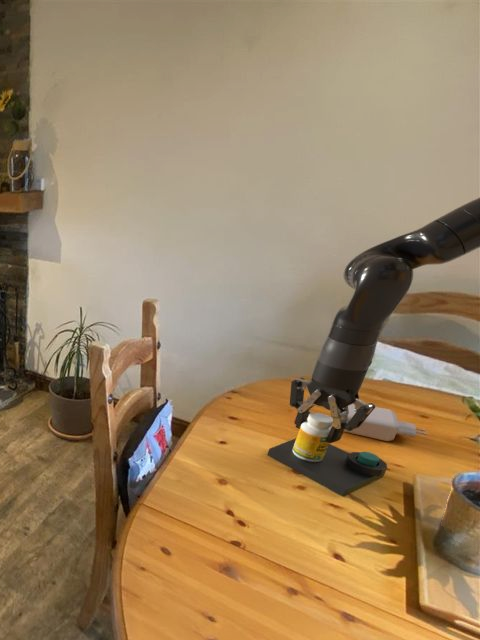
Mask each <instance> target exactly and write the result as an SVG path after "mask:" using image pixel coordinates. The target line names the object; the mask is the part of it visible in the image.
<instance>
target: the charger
mask: <svg viewBox="0 0 480 640" xmlns="http://www.w3.org/2000/svg"><path fill="white" fill-rule="evenodd" d="M354 408H355V405H354V404H351V405H349V406H348V409H349V414H348V421H350V419H351V418H352V417H353V416H354V414H355V413H356V412H355V411H354ZM426 432H427V430H426V429H424V428H419V427H416V425H415V423H412V422H407V421H403V420H398V417H397V413H396V412H394V411H393V410H391V409H389V408H384V407H377V406H375V408H374V410H373V411H372V412H371V413H370V415H369V416H368V417H367V418H366V420H365V421H364V422H363V423H362V424H361V426H360V427H358V428H355V429H353V430H351V431H348V430H346V429H345V430H344V432H343V433H348V434H351V435H352V434H353V435H357V436H362V437H366V438H371V439H375V440H380V441H383V442H390V441H394V440H395V437H396V435H401V436H406V437H411V438H415V437H416V435H417V434H418V435H423V436H428V433H426Z"/></svg>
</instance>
